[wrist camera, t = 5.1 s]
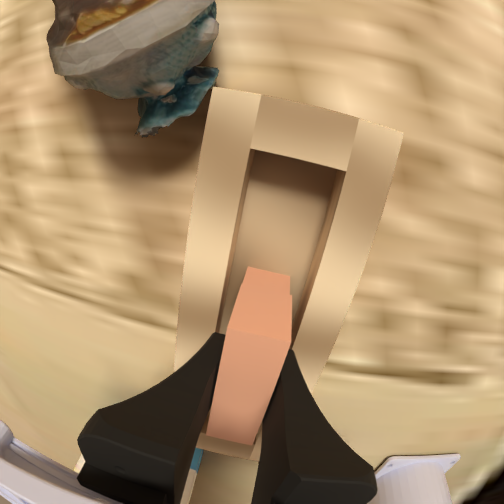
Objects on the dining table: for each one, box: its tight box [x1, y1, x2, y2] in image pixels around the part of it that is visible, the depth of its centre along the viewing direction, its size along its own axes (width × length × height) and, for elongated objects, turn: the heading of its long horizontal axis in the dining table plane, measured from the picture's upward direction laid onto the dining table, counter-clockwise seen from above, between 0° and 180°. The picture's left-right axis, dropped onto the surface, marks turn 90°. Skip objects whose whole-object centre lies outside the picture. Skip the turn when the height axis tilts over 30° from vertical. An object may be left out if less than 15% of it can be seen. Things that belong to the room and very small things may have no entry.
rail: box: [174, 87, 404, 461], centre depth 15 cm, size 20×7×2 cm, turn 169°
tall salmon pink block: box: [206, 266, 292, 445], centre depth 13 cm, size 6×2×6 cm, turn 168°
